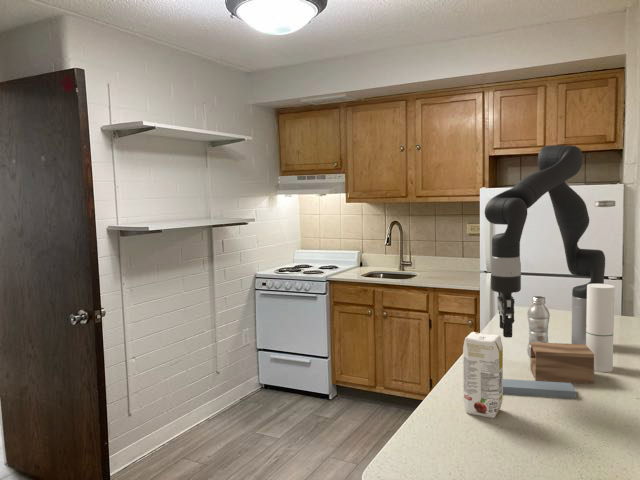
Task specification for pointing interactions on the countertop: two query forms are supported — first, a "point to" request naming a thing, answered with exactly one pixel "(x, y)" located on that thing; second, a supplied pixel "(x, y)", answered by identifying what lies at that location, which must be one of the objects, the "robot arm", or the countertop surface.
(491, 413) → the juice carton
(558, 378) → the brown box
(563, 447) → the countertop surface
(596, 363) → the cylindrical container
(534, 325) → the plastic bottle
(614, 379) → the countertop surface
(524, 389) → the cover plate
